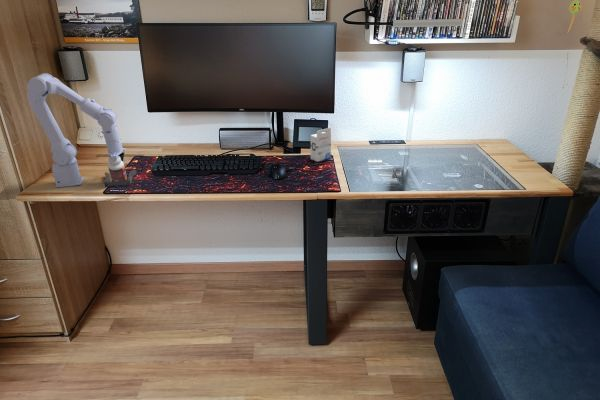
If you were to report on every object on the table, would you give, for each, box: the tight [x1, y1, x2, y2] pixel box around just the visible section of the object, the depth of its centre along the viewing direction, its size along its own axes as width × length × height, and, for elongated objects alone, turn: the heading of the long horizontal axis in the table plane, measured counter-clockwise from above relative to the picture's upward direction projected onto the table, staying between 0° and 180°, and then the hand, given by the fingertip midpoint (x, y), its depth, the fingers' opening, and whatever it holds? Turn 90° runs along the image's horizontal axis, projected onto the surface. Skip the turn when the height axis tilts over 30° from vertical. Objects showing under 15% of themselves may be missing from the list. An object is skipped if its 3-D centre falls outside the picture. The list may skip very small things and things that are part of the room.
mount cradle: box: [103, 169, 138, 188], centre depth 185 cm, size 13×12×2 cm
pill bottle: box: [107, 156, 128, 181], centre depth 180 cm, size 6×6×11 cm
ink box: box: [310, 127, 332, 163], centre depth 203 cm, size 9×5×15 cm, turn 126°
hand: (121, 170), depth 185 cm, fingers closed, pressing on pill bottle
